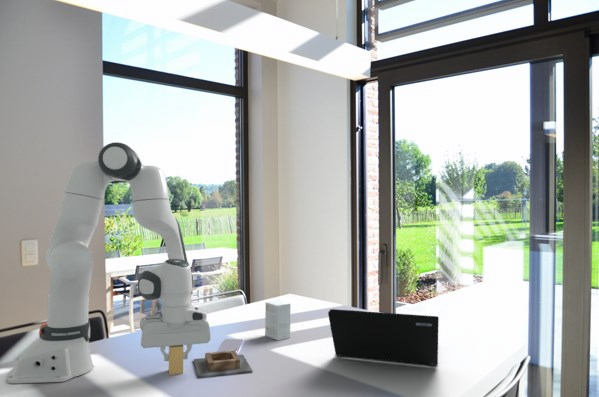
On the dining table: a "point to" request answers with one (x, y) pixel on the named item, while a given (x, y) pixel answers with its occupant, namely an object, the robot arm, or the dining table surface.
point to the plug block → (176, 359)
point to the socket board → (221, 364)
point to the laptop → (385, 336)
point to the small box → (277, 320)
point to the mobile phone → (231, 345)
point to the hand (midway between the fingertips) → (175, 359)
